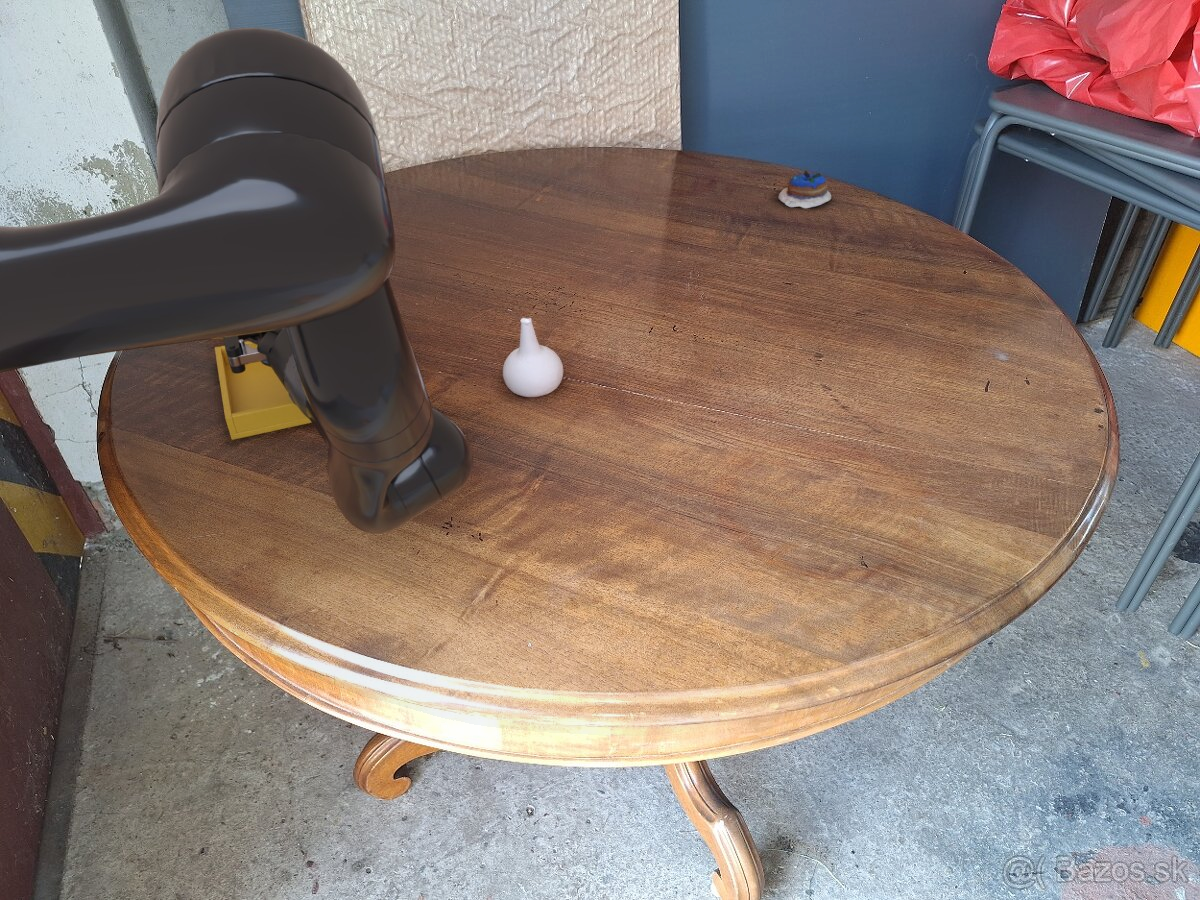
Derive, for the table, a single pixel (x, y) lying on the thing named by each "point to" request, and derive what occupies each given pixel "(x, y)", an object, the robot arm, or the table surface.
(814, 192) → the dessert
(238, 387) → the yellow tray
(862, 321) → the table surface
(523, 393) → the garlic bulb
